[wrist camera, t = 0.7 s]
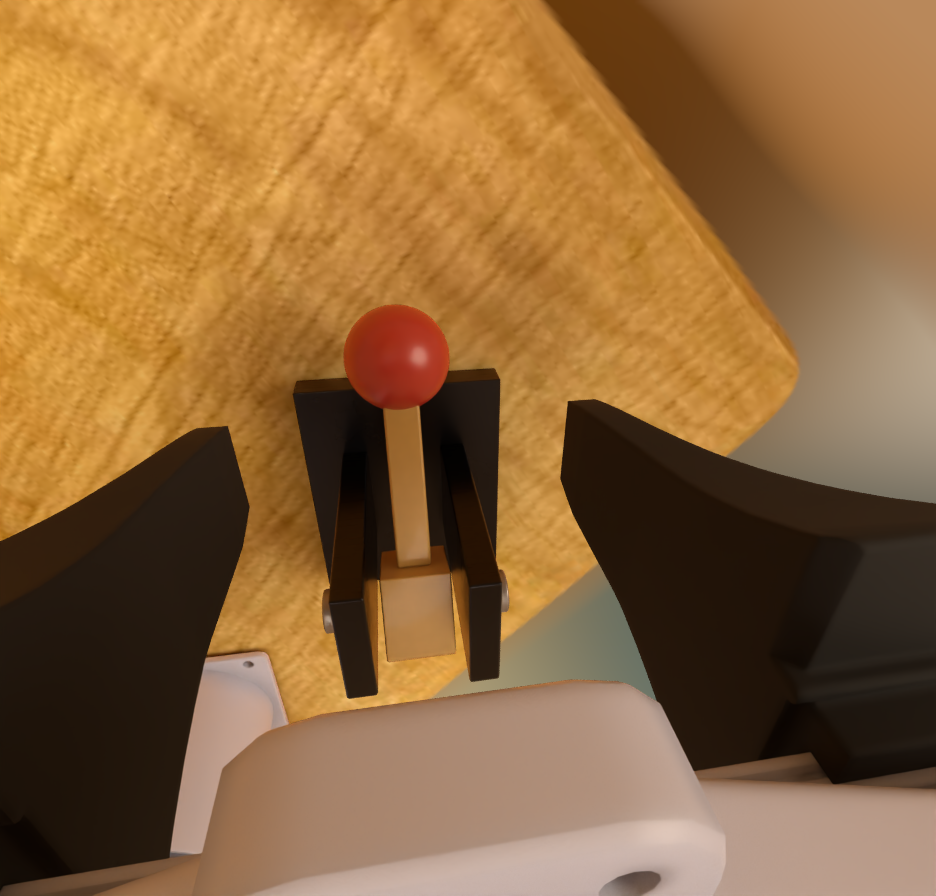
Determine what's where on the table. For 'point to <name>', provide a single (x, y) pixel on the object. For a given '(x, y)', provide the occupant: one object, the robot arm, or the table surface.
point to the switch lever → (406, 473)
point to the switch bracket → (371, 521)
